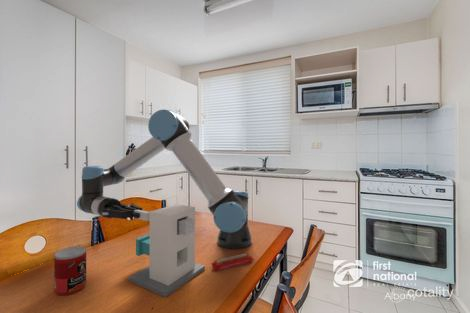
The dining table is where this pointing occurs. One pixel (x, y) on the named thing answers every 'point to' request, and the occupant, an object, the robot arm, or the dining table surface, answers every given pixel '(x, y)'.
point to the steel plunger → (185, 226)
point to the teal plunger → (143, 245)
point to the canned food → (70, 270)
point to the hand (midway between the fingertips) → (148, 216)
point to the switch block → (169, 252)
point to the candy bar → (231, 261)
